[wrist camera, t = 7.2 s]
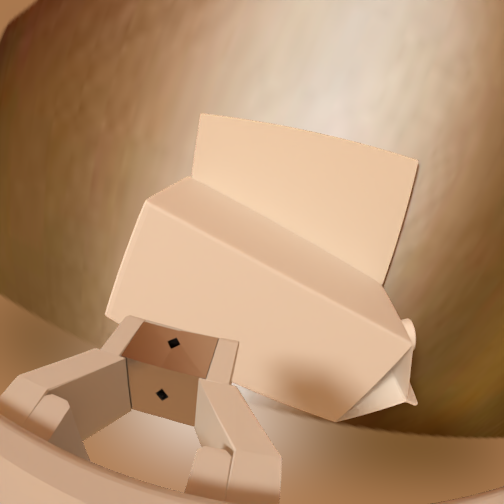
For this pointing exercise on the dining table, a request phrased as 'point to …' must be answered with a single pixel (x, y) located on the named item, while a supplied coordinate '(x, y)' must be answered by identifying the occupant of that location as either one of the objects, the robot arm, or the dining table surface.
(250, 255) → the milk carton
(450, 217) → the dining table surface
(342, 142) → the mat
